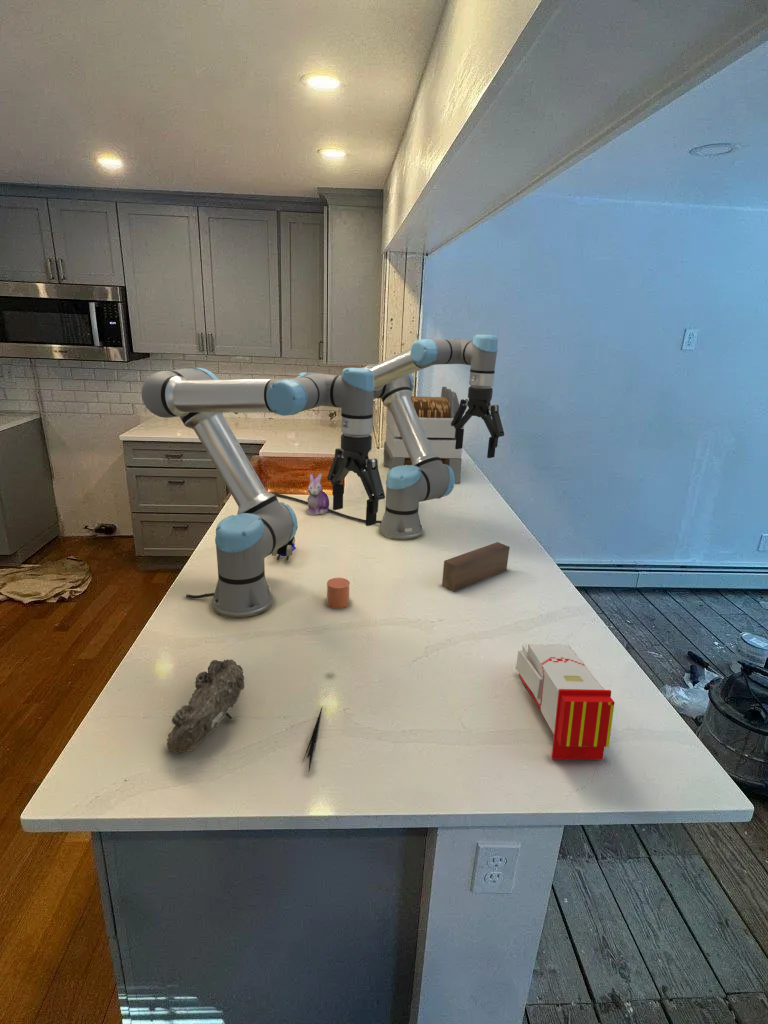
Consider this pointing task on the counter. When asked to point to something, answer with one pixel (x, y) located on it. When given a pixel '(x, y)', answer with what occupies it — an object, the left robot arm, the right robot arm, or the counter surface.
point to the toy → (568, 700)
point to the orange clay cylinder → (338, 592)
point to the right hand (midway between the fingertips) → (474, 453)
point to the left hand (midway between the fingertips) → (353, 516)
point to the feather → (313, 740)
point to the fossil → (206, 705)
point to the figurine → (317, 496)
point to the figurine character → (285, 549)
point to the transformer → (428, 432)
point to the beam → (475, 566)
